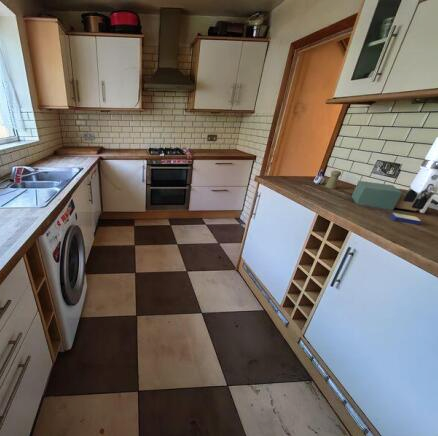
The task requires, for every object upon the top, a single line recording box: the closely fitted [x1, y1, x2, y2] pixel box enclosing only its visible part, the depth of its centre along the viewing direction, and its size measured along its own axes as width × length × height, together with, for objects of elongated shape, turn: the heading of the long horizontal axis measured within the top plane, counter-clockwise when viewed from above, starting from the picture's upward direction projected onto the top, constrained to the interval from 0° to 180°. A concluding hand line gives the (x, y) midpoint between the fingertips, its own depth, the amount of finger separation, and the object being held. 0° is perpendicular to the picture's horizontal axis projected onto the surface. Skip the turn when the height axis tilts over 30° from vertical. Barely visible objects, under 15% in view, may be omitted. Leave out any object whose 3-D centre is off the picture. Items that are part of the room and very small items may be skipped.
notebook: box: [390, 212, 422, 226], centre depth 102 cm, size 8×6×3 cm
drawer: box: [394, 187, 438, 214], centre depth 117 cm, size 18×13×8 cm
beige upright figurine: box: [324, 169, 342, 190], centre depth 148 cm, size 6×6×11 cm
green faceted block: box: [351, 180, 402, 211], centre depth 123 cm, size 15×15×10 cm
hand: (412, 204), depth 98 cm, fingers open, 9 cm apart
